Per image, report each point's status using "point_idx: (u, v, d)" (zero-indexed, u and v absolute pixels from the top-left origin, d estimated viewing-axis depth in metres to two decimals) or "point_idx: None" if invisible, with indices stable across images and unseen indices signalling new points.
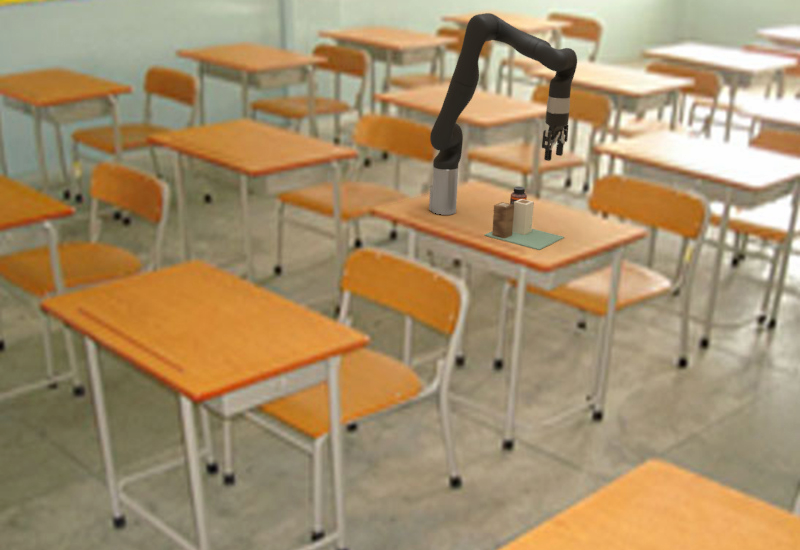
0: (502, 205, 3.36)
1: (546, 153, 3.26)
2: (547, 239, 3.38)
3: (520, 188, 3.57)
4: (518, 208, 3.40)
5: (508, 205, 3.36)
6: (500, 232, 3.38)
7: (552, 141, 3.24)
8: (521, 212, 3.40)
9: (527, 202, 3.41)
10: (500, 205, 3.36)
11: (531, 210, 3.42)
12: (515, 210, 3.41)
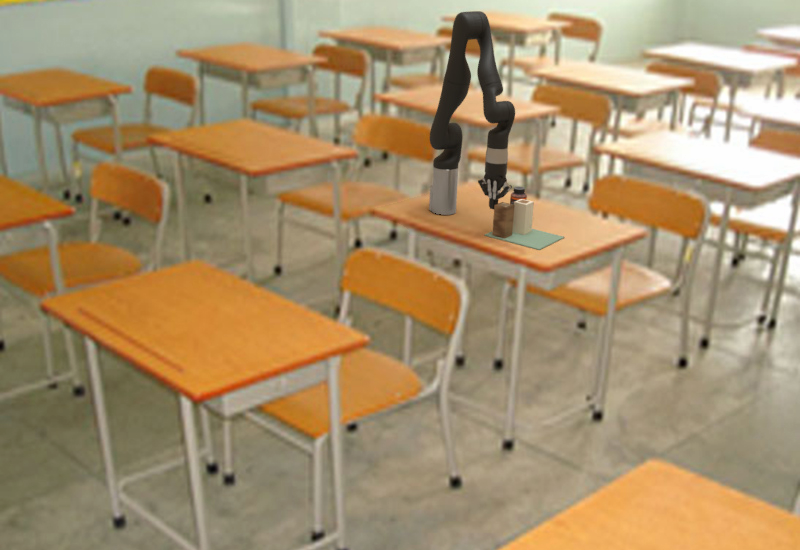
0: (503, 205, 3.36)
1: (496, 202, 3.38)
2: (547, 239, 3.38)
3: (520, 188, 3.57)
4: (518, 208, 3.40)
5: (509, 205, 3.36)
6: (500, 232, 3.38)
7: None
8: (521, 212, 3.40)
9: (527, 202, 3.41)
10: (500, 205, 3.36)
11: (531, 210, 3.42)
12: (515, 210, 3.41)
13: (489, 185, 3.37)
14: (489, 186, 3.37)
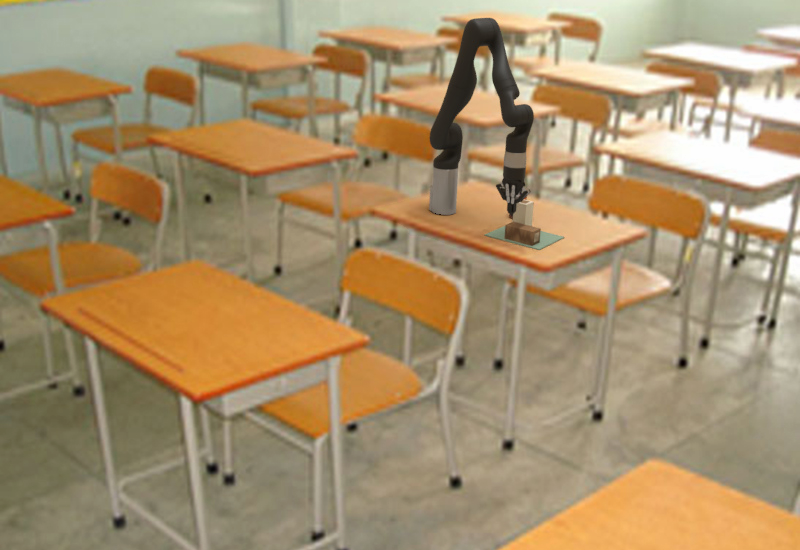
0: (535, 237, 3.32)
1: (514, 207, 3.34)
2: (547, 239, 3.38)
3: None
4: (518, 208, 3.40)
5: (536, 241, 3.33)
6: (509, 235, 3.36)
7: None
8: (521, 212, 3.40)
9: (527, 202, 3.41)
10: (534, 236, 3.31)
11: (531, 210, 3.42)
12: None
13: (507, 189, 3.32)
14: (507, 190, 3.33)
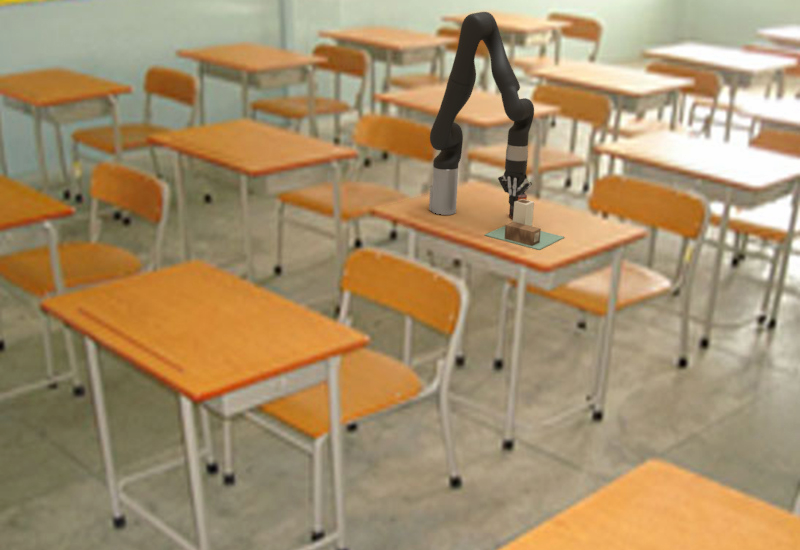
0: (535, 237, 3.32)
1: (516, 199, 3.43)
2: (547, 239, 3.38)
3: (520, 188, 3.57)
4: (518, 208, 3.40)
5: (536, 241, 3.33)
6: (509, 235, 3.36)
7: None
8: (521, 212, 3.40)
9: (527, 202, 3.40)
10: (534, 236, 3.31)
11: (531, 210, 3.42)
12: (515, 210, 3.41)
13: (509, 182, 3.41)
14: (509, 183, 3.41)
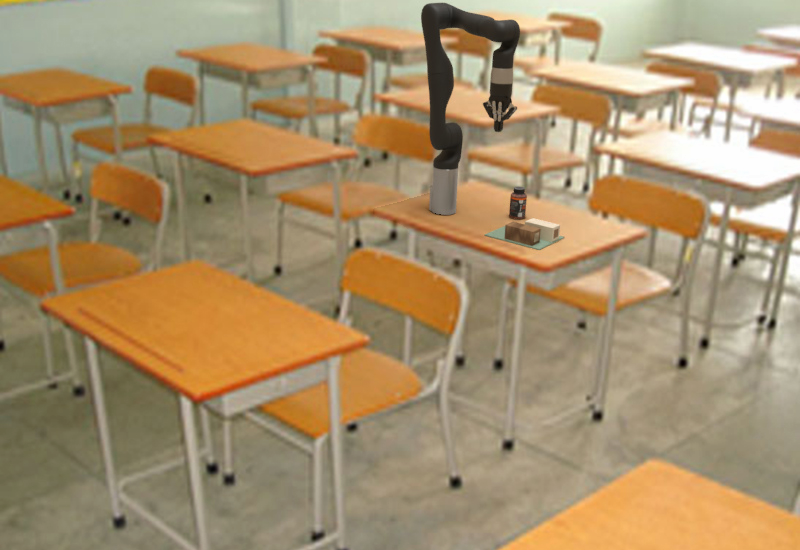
0: (535, 237, 3.32)
1: (501, 125, 3.35)
2: None
3: (520, 188, 3.57)
4: (547, 232, 3.36)
5: (536, 241, 3.33)
6: (509, 235, 3.36)
7: None
8: (543, 235, 3.37)
9: (555, 237, 3.37)
10: (534, 236, 3.31)
11: None
12: (545, 228, 3.36)
13: (494, 107, 3.33)
14: (494, 108, 3.33)
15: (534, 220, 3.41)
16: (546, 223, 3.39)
